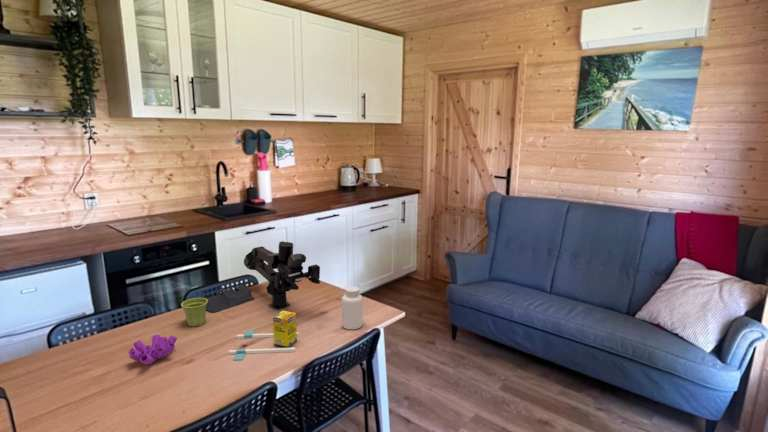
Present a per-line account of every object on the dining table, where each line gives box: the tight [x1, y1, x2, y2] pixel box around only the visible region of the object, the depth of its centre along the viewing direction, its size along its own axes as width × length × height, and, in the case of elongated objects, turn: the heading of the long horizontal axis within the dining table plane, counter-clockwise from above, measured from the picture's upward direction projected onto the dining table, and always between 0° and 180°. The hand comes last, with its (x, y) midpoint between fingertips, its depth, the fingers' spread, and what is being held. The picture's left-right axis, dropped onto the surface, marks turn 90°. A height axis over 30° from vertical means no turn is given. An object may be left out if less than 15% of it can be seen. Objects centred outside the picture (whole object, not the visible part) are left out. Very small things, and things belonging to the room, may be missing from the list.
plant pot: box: [180, 297, 208, 327], centre depth 164 cm, size 9×9×9 cm
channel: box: [228, 330, 300, 362], centre depth 149 cm, size 22×20×1 cm
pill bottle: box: [341, 286, 364, 330], centre depth 162 cm, size 8×8×15 cm
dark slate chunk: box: [206, 284, 256, 314], centre depth 185 cm, size 15×22×5 cm
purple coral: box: [128, 334, 178, 365], centre depth 139 cm, size 11×15×10 cm
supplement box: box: [272, 310, 298, 348], centre depth 149 cm, size 6×6×11 cm
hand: (309, 285), depth 159 cm, fingers open, 9 cm apart
